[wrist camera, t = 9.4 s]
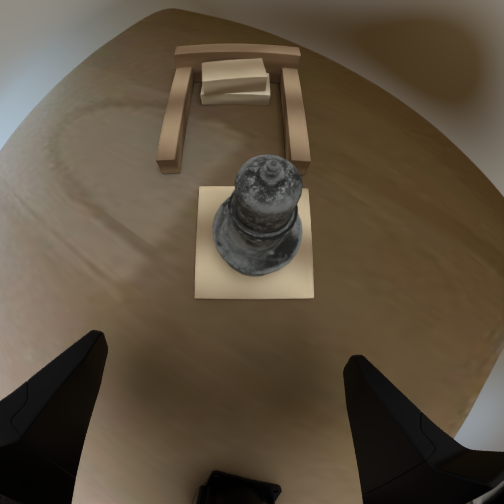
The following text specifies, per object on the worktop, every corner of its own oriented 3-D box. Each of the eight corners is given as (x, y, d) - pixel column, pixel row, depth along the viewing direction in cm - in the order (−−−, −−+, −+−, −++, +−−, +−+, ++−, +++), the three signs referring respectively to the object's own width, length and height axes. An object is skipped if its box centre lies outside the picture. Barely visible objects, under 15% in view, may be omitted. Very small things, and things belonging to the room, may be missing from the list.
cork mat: (311, 298, 21) (313, 297, 21) (196, 298, 21) (194, 298, 20) (305, 192, 23) (307, 188, 22) (200, 190, 23) (199, 186, 22)
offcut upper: (265, 90, 24) (267, 76, 22) (204, 95, 23) (202, 81, 21) (260, 71, 24) (262, 58, 22) (203, 76, 24) (201, 62, 22)
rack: (304, 174, 24) (316, 148, 19) (162, 173, 23) (149, 147, 19) (292, 75, 26) (298, 47, 22) (182, 74, 26) (176, 46, 21)
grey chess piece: (219, 204, 22) (204, 100, 10) (293, 209, 22) (343, 114, 10) (213, 277, 21) (181, 235, 9) (291, 282, 21) (356, 248, 9)
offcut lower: (268, 107, 26) (270, 95, 24) (202, 107, 25) (200, 94, 23) (267, 85, 26) (269, 73, 24) (205, 84, 26) (204, 72, 24)
